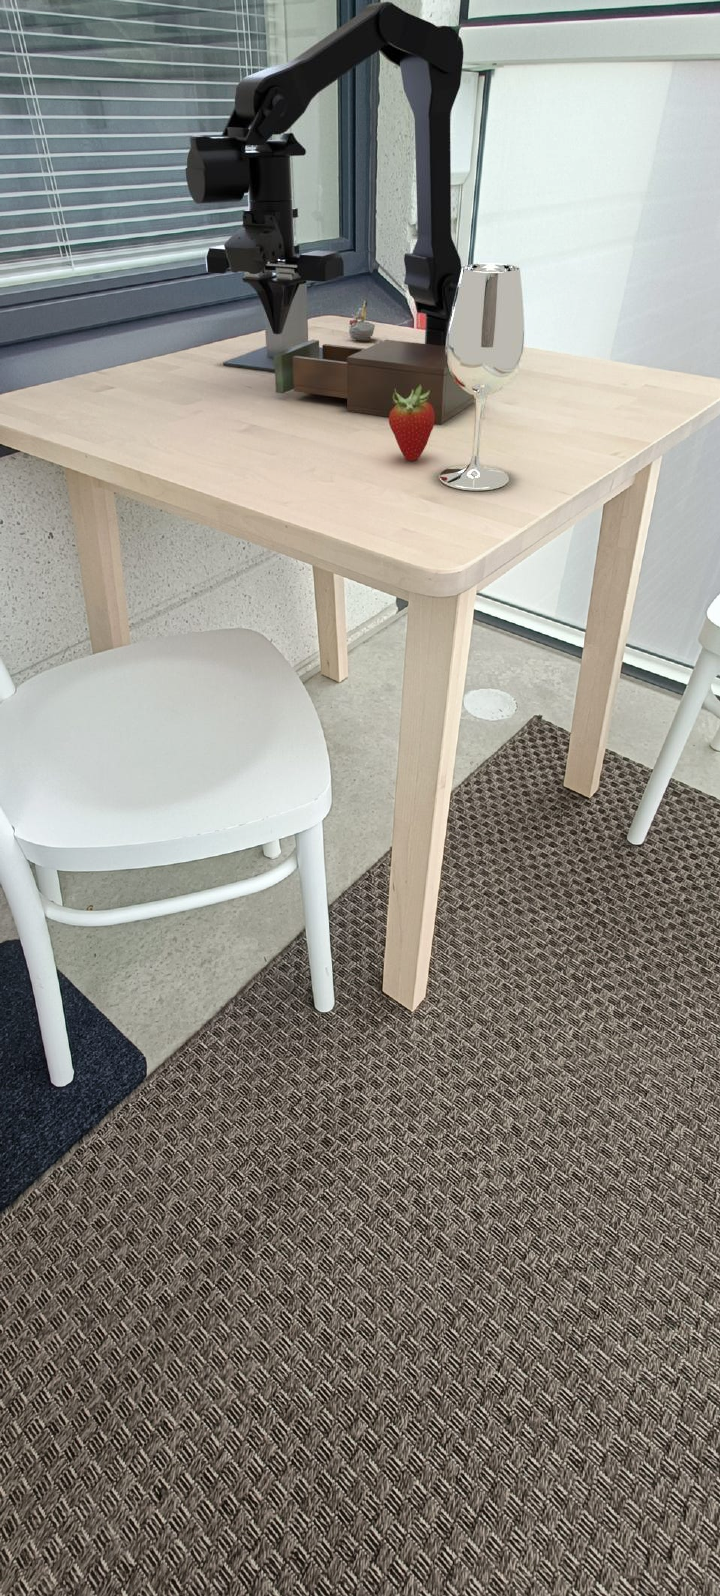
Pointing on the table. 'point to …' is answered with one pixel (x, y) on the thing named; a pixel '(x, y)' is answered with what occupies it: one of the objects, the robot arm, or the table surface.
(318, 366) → the drawer
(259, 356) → the mat
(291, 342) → the grey canister
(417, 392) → the fruit
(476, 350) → the wineglass
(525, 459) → the table surface
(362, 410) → the cabinet
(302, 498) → the table surface
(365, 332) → the figurine
